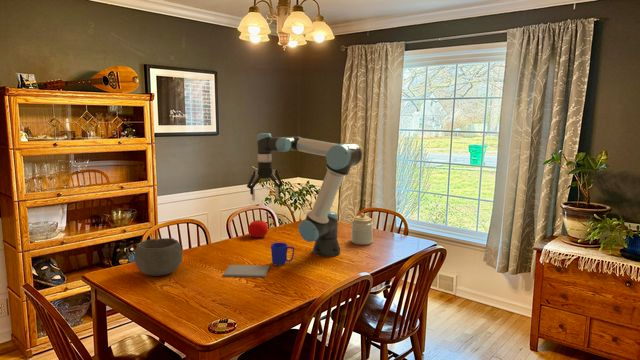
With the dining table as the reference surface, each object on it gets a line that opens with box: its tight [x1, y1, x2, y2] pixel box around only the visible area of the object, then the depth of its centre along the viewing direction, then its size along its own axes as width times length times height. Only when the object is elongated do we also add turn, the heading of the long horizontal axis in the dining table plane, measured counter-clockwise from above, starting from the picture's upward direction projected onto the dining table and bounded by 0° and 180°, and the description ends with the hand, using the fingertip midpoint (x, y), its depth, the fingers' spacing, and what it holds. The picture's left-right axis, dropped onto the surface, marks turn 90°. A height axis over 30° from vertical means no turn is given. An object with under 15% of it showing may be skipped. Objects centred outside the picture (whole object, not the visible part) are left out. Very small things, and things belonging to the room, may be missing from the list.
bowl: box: [134, 237, 183, 277], centre depth 203 cm, size 21×21×15 cm
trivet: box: [221, 264, 270, 278], centre depth 207 cm, size 20×14×1 cm
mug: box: [270, 242, 295, 266], centre depth 218 cm, size 8×12×10 cm
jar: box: [350, 212, 374, 246], centre depth 258 cm, size 13×13×18 cm
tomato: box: [247, 219, 269, 239], centre depth 267 cm, size 11×12×10 cm
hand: (265, 199), depth 239 cm, fingers open, 13 cm apart
